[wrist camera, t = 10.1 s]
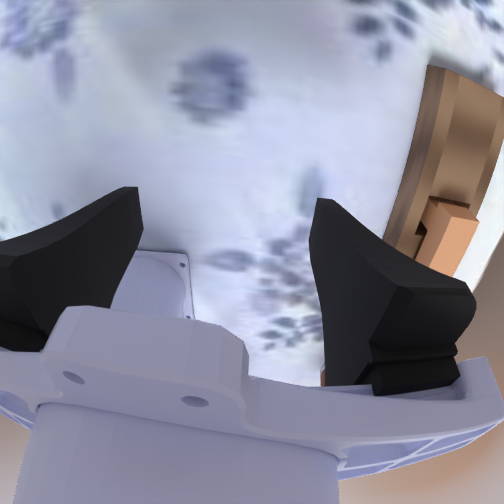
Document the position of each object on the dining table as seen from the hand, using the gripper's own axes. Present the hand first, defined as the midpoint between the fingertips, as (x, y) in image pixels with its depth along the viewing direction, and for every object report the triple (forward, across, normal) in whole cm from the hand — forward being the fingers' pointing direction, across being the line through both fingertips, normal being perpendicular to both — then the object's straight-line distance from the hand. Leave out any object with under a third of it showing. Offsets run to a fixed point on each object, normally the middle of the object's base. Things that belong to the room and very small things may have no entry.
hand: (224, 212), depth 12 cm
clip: (+10, -16, +6) cm, 20 cm away
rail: (+10, -16, +6) cm, 20 cm away
